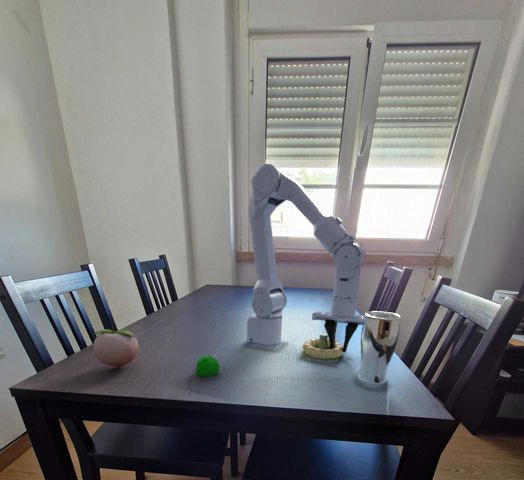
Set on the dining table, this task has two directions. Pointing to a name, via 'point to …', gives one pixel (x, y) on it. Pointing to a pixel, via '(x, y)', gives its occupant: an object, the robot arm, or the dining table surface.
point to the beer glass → (378, 345)
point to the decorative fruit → (115, 347)
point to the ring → (313, 349)
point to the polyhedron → (207, 366)
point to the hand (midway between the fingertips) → (338, 350)
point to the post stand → (321, 346)
